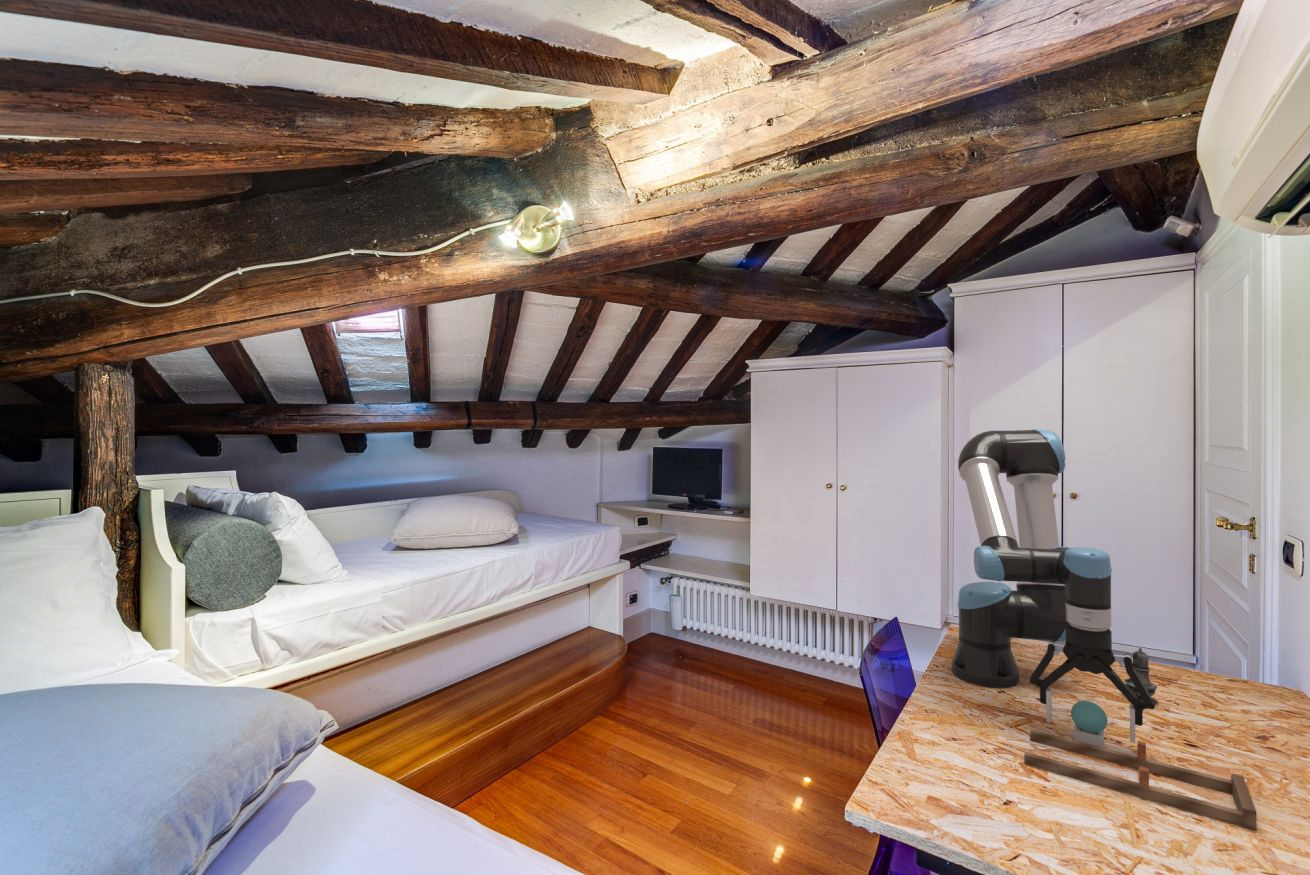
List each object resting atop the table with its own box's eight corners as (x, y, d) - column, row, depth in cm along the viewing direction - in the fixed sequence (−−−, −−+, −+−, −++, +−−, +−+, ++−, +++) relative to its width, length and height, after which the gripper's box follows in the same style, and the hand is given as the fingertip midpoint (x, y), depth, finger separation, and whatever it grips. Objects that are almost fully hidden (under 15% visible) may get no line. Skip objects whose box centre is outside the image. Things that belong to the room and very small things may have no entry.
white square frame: (1074, 740, 118) (1074, 730, 118) (1075, 730, 122) (1075, 721, 122) (1104, 748, 115) (1103, 738, 115) (1104, 737, 119) (1104, 727, 119)
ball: (1070, 733, 118) (1070, 703, 118) (1071, 721, 123) (1071, 692, 123) (1107, 742, 115) (1107, 712, 114) (1107, 729, 119) (1107, 700, 119)
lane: (1024, 763, 111) (1024, 738, 111) (1030, 737, 120) (1030, 714, 120) (1256, 830, 92) (1256, 800, 92) (1243, 793, 101) (1243, 766, 101)
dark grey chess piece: (1164, 704, 132) (1163, 652, 132) (1138, 705, 132) (1137, 652, 132) (1143, 693, 138) (1142, 642, 138) (1118, 693, 138) (1117, 643, 138)
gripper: (1014, 619, 123) (1015, 719, 123) (1171, 643, 108) (1172, 757, 108) (1018, 610, 129) (1019, 705, 129) (1168, 632, 114) (1169, 740, 114)
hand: (1089, 729), depth 119 cm, fingers open, 13 cm apart
